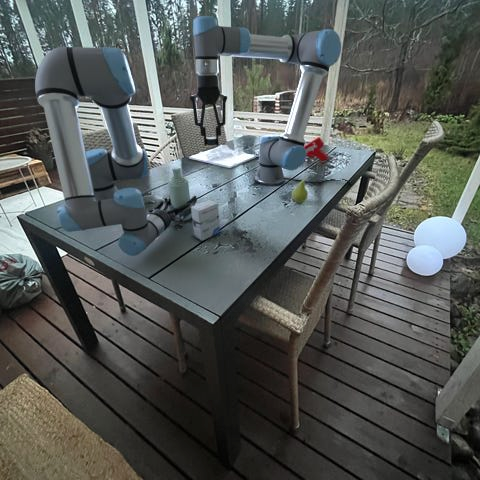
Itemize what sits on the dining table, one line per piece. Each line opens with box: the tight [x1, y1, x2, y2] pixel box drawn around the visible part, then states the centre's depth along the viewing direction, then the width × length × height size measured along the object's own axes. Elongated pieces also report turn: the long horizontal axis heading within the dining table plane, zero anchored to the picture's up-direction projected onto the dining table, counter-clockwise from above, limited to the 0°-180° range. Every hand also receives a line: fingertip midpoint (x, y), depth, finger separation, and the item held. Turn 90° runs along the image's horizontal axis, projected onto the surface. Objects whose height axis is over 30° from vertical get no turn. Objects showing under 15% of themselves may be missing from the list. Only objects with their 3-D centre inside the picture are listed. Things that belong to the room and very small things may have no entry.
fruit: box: [291, 174, 311, 204], centre depth 118 cm, size 7×8×12 cm
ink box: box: [191, 199, 221, 241], centre depth 95 cm, size 8×5×12 cm, turn 134°
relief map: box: [188, 143, 257, 169], centre depth 179 cm, size 27×35×5 cm
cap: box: [206, 136, 217, 146], centre depth 105 cm, size 4×4×2 cm
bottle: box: [167, 166, 192, 222], centre depth 105 cm, size 8×8×20 cm
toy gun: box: [304, 136, 329, 164], centre depth 170 cm, size 18×4×15 cm
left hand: (186, 197), depth 111 cm, fingers closed on bottle, 8 cm apart
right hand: (211, 144), depth 106 cm, fingers closed on cap, 4 cm apart
